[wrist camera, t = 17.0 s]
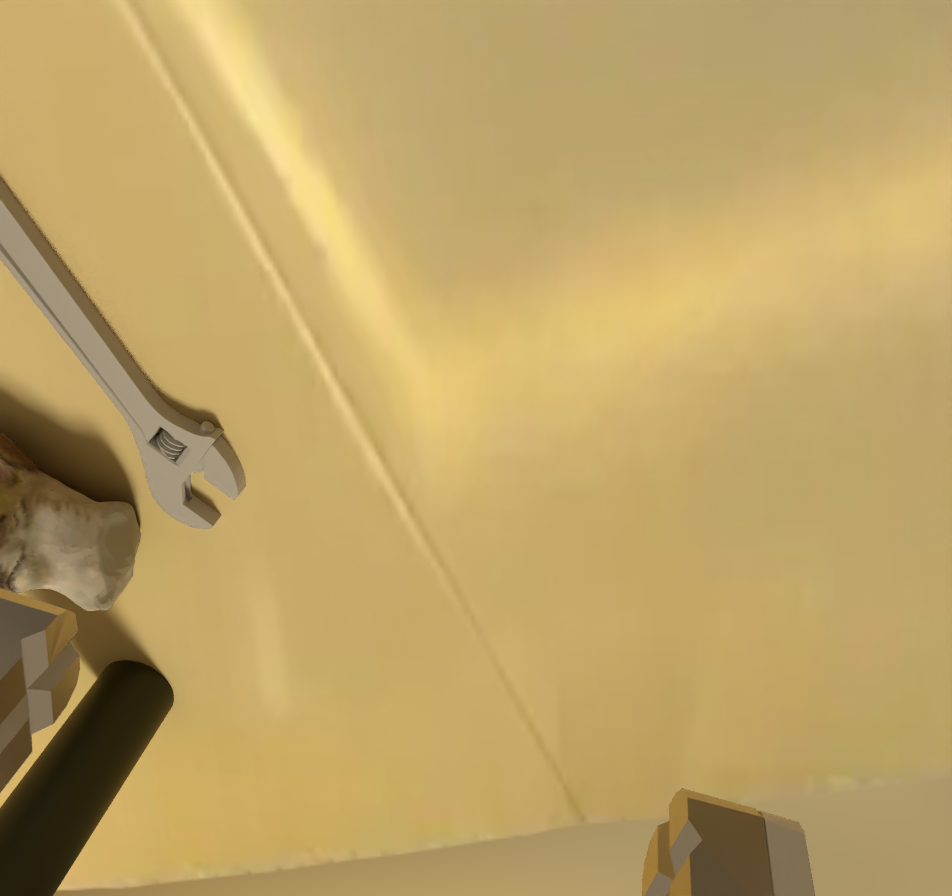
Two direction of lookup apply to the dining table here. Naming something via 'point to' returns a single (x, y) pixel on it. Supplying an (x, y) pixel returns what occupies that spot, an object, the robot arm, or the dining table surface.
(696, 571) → the dining table surface
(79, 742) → the wine bottle
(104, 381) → the adjustable wrench
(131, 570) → the ceramic sculpture
